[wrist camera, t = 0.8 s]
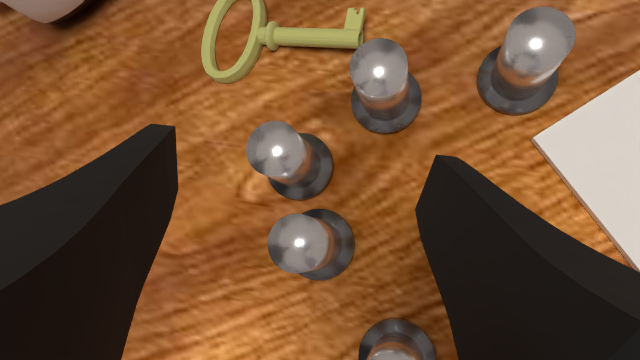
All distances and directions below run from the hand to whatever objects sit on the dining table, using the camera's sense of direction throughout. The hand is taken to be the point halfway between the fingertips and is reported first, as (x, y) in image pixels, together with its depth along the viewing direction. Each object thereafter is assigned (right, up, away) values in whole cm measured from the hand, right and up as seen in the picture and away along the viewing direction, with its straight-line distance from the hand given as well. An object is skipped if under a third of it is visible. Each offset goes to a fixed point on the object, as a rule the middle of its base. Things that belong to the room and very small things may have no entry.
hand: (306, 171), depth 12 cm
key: (-3, +10, +19) cm, 21 cm away
